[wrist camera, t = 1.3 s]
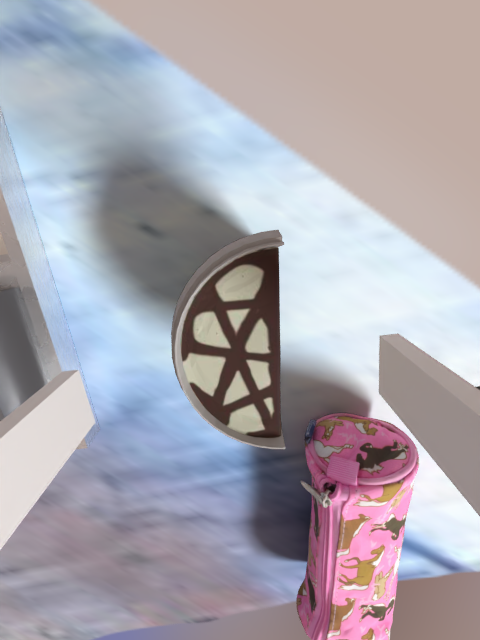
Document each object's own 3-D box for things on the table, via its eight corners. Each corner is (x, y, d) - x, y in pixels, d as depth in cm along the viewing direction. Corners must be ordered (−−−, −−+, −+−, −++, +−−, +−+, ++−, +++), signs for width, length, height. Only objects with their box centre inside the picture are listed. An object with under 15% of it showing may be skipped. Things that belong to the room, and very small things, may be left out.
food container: (184, 232, 23) (146, 237, 13) (264, 228, 23) (284, 230, 13) (198, 377, 27) (177, 462, 17) (268, 374, 27) (285, 457, 17)
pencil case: (289, 406, 28) (312, 484, 19) (390, 401, 28) (457, 478, 19) (288, 570, 34) (305, 683, 26) (370, 567, 34) (414, 679, 26)
